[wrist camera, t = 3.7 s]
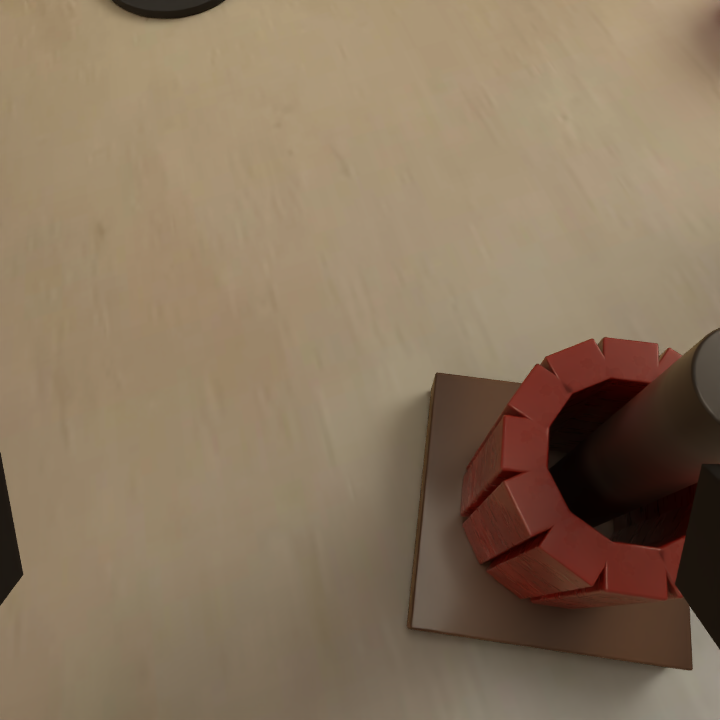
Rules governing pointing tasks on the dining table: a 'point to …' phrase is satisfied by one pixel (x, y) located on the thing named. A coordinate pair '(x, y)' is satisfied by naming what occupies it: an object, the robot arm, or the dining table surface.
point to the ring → (544, 500)
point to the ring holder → (584, 499)
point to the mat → (167, 7)
